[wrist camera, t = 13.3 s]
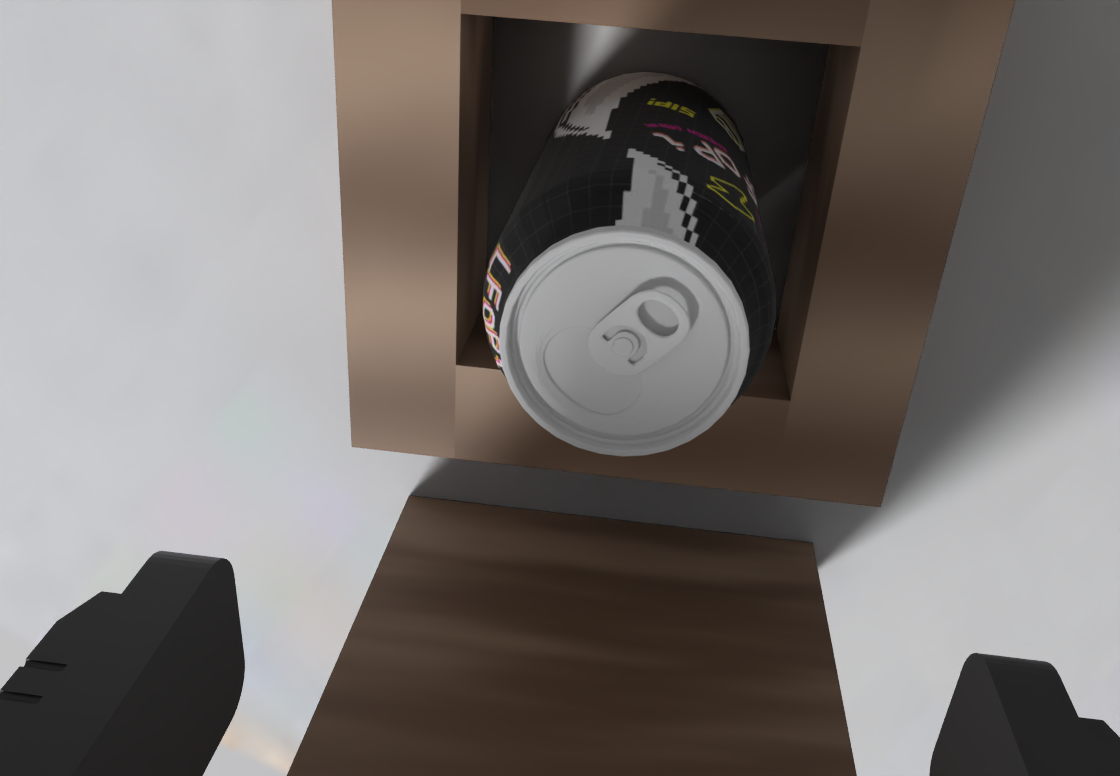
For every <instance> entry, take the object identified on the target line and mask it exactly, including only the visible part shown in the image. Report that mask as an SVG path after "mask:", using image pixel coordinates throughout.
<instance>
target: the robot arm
mask: <svg viewBox="0 0 1120 776" xmlns="http://www.w3.org/2000/svg"><path fill="white" fill-rule="evenodd" d="M244 672H245V660H244V651H243V642H242V634H241V626H240V618H239V610H238V602H237V594H236V586H235V578H234V572H233V568H232V565H231V563H230V562H229V561H228V560H227V559H224V558H216V557H208V556H200V555H191V554H183V553H175V552H167V551H159V552H156V553H154V554H153V555H152V556H151V557H150V558H149V559H148V560H147V561H146V563H145V564H144V565H143V567H142V568H141V569H140V570H139V572H138V573H137V574H136V576H135V577H134V578H133V580H132V581H131V582H130V584H129V585H128V586H127V587H126V589H125V590H124V591H123V593H122V594H118V593H110V592H100V593H99V594H97V595H96V596H94V597H93V598H91V599H90V600H88V601H87V602H85V603H84V604H82V605H81V606H79V607H78V608H76V609H75V610H73V611H72V612H70V613H69V614H67V615H66V616H64V617H63V618H61V619H60V620H58V621H57V622H56V623H55V624H54V625H53V627H52V628H51V629H50V630H49V631H48V633H47V634H46V635H45V636H44V638H43V639H42V640H41V641H40V642H39V644H38V645H37V646H36V647H35V648H34V650H33V651H32V652H31V653H30V655H29V656H28V657H27V658H26V663H25V666H24V667H19V668H18V669H17V670H16V672H15V673H14V674H13V675H12V676H11V678H10V679H9V680H8V681H7V682H6V684H5V685H4V686H3V687H2V688H1V690H0V776H202V775H203V774H204V772H205V770H206V768H207V766H208V764H209V762H210V760H211V758H212V756H213V755H214V753H215V751H216V749H217V747H218V745H219V743H220V741H221V739H222V738H223V736H224V734H225V732H226V730H227V728H228V726H229V724H230V722H231V720H232V718H233V716H234V714H235V711H236V709H237V706H238V703H239V700H240V696H241V692H242V687H243V681H244ZM930 776H1120V737H1119V736H1118V735H1117V734H1116V733H1115V732H1114V731H1113V730H1112V729H1111V728H1110V727H1109V726H1108V725H1107V724H1106V723H1105V722H1104V721H1103V720H1096V719H1088V718H1080V717H1078V715H1077V713H1076V711H1075V708H1074V706H1073V704H1072V702H1071V700H1070V698H1069V695H1068V693H1067V691H1066V689H1065V687H1064V684H1063V682H1062V680H1061V678H1060V676H1059V674H1058V672H1057V670H1056V669H1055V668H1054V667H1053V666H1052V665H1051V664H1050V663H1048V662H1044V661H1036V660H1028V659H1020V658H1012V657H1004V656H996V655H987V654H979V653H973V654H971V655H970V656H969V657H968V658H967V660H966V661H965V663H964V665H963V668H962V671H961V673H960V676H959V679H958V682H957V685H956V688H955V691H954V694H953V696H952V699H951V702H950V705H949V708H948V711H947V714H946V716H945V719H944V722H943V725H942V728H941V731H940V734H939V737H938V739H937V742H936V745H935V748H934V751H933V755H932V760H931V766H930Z"/></svg>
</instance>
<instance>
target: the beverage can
mask: <svg viewBox="0 0 1120 776" xmlns="http://www.w3.org/2000/svg"><path fill="white" fill-rule="evenodd" d="M483 317H484V322H485V328H486V333H487V339H488V343H489V345H490V348H491V350H492V353H493V355H494V358H495V360H496V363H497V365H498V367H499V368H500V370H501V371H502V373H503V375H504V376H505V378H506V379H507V381H508V383H509V386H510V389H511V390H512V392H513V393H514V395H515V396H516V398H517V400H518V401H519V403H520V404H521V406H522V407H523V408H524V409H525V411H526V412H527V413H528V414H529V415H530V416H531V417H532V418H533V419H534V420H535V421H536V422H537V423H538V424H539V425H540V426H542V427H543V428H544V429H546V430H547V431H549V432H550V433H551V434H553V435H554V436H555V437H557V438H559V439H561V440H563V441H565V442H567V443H569V444H571V445H573V446H575V447H578V448H581V449H585V450H588V451H592V452H596V453H599V454H607V455H614V456H622V457H623V456H643V455H649V454H654V453H658V452H663V451H667V450H670V449H672V448H675V447H677V446H679V445H682V444H684V443H686V442H689V441H691V440H692V439H694V438H695V437H697V436H698V435H700V434H701V433H703V432H704V431H706V430H708V429H709V428H710V427H711V426H712V425H713V424H714V423H715V422H716V421H717V420H718V419H719V418H720V417H721V416H722V415H723V414H724V413H725V412H726V410H727V409H728V408H729V407H730V406H731V405H732V404H733V403H734V402H735V401H736V400H737V399H738V398H739V397H740V396H741V395H742V394H743V393H744V392H745V391H746V389H747V388H748V386H749V385H750V383H751V382H752V380H753V379H754V378H755V376H756V375H757V373H758V372H759V370H760V368H761V366H762V363H763V361H764V359H765V356H766V354H767V352H768V349H769V347H770V344H771V340H772V335H773V330H774V324H775V319H776V286H775V281H774V277H773V272H772V268H771V263H770V259H769V254H768V250H767V245H766V240H765V236H764V231H763V227H762V222H761V218H760V213H759V209H758V204H757V199H756V195H755V190H754V186H753V181H752V177H751V172H750V168H749V163H748V158H747V154H746V150H745V146H744V142H743V139H742V136H741V134H740V132H739V130H738V128H737V126H736V124H735V122H734V120H733V119H732V117H731V116H730V115H729V114H728V112H727V111H726V110H725V108H724V107H723V106H722V105H721V103H719V102H718V101H717V100H716V99H715V98H714V97H712V96H711V95H710V94H709V93H708V92H707V91H705V90H704V89H702V88H700V87H699V86H697V85H695V84H693V83H691V82H689V81H688V80H685V79H682V78H679V77H675V76H672V75H669V74H664V73H653V72H638V73H630V74H623V75H620V76H617V77H614V78H611V79H607V80H604V81H602V82H601V83H599V84H597V85H595V86H594V87H592V88H590V89H588V90H587V91H585V92H584V93H583V94H581V95H580V96H579V97H578V98H577V99H576V100H575V101H573V102H572V103H571V104H570V105H569V106H568V107H567V109H566V110H565V111H564V113H563V114H562V115H561V117H560V118H559V119H558V120H557V122H556V124H555V126H554V128H553V130H552V132H551V134H550V136H549V138H548V140H547V142H546V144H545V146H544V149H543V151H542V153H541V155H540V157H539V159H538V161H537V163H536V165H535V167H534V169H533V171H532V173H531V175H530V177H529V179H528V181H527V183H526V185H525V187H524V189H523V191H522V193H521V195H520V197H519V199H518V202H517V204H516V206H515V208H514V210H513V212H512V214H511V216H510V218H509V220H508V222H507V224H506V226H505V228H504V230H503V232H502V234H501V236H500V238H499V240H498V242H497V244H496V246H495V248H494V250H493V252H492V254H491V257H490V260H489V264H488V269H487V273H486V277H485V281H484V285H483Z"/></svg>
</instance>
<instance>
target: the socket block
mask: <svg viewBox="0 0 1120 776" xmlns="http://www.w3.org/2000/svg"><path fill="white" fill-rule="evenodd" d="M1014 2H1015V0H332V16H333V38H334V60H335V83H336V105H337V127H338V150H339V172H340V194H341V217H342V239H343V261H344V284H345V306H346V328H347V350H348V373H349V395H350V417H351V440H352V447H358V448H367V449H375V450H384V451H393V452H402V453H410V454H419V455H428V456H437V457H445V458H454V459H463V460H472V461H480V462H489V463H498V464H507V465H515V466H524V467H533V468H542V469H551V470H559V471H568V472H577V473H586V474H594V475H603V476H612V477H621V478H629V479H638V480H647V481H656V482H664V483H673V484H682V485H691V486H699V487H708V488H717V489H726V490H734V491H743V492H752V493H761V494H770V495H778V496H787V497H796V498H805V499H813V500H822V501H831V502H840V503H848V504H857V505H866V506H875V507H881V504H882V500H883V497H884V493H885V489H886V485H887V482H888V478H889V474H890V470H891V466H892V463H893V459H894V455H895V451H896V448H897V444H898V440H899V436H900V432H901V429H902V425H903V421H904V417H905V414H906V410H907V406H908V402H909V399H910V395H911V391H912V387H913V383H914V380H915V376H916V372H917V368H918V365H919V361H920V357H921V353H922V350H923V346H924V342H925V338H926V334H927V331H928V327H929V323H930V319H931V316H932V312H933V308H934V304H935V300H936V297H937V293H938V289H939V285H940V282H941V278H942V274H943V270H944V267H945V263H946V259H947V255H948V251H949V248H950V244H951V240H952V236H953V233H954V229H955V225H956V221H957V217H958V214H959V210H960V206H961V202H962V199H963V195H964V191H965V187H966V184H967V180H968V176H969V172H970V168H971V165H972V161H973V157H974V153H975V150H976V146H977V142H978V138H979V134H980V131H981V127H982V123H983V119H984V116H985V112H986V108H987V104H988V101H989V97H990V93H991V89H992V85H993V82H994V78H995V74H996V70H997V67H998V63H999V59H1000V55H1001V52H1002V48H1003V44H1004V40H1005V36H1006V33H1007V29H1008V25H1009V21H1010V18H1011V14H1012V10H1013V6H1014ZM493 16H495V17H507V18H519V19H531V20H543V21H556V22H568V23H580V24H592V25H604V26H616V27H628V28H640V29H652V30H664V31H676V32H688V33H700V34H712V35H725V36H737V37H749V38H761V39H773V40H785V41H797V42H809V43H821V44H829V48H828V54H827V59H826V65H825V70H824V76H823V81H822V86H821V92H820V97H819V103H818V108H817V114H816V119H815V124H814V130H813V135H812V141H811V146H810V151H809V157H808V162H807V168H806V173H805V179H804V184H803V189H802V195H801V200H800V206H799V211H798V216H797V222H796V227H795V233H794V238H793V244H792V249H791V254H790V260H789V265H788V271H787V276H786V282H785V287H784V292H783V298H782V303H781V309H780V314H779V319H778V325H777V330H773V335H772V340H771V344H770V347H769V349H768V352H767V354H766V356H765V359H764V361H763V363H762V366H761V368H760V370H759V372H758V373H757V375H756V376H755V378H754V379H753V380H752V382H751V383H750V385H749V386H748V388H747V389H746V391H745V392H744V393H743V394H742V395H741V396H740V397H739V398H738V399H737V400H736V401H735V402H734V403H733V404H732V405H731V406H730V407H729V408H728V409H727V410H726V412H725V413H724V414H723V415H722V416H721V417H720V418H719V419H718V420H717V421H716V422H715V423H714V424H713V425H712V426H711V427H710V428H709V429H708V430H706V431H704V432H703V433H701V434H700V435H698V436H697V437H695V438H694V439H692V440H691V441H689V442H686V443H684V444H682V445H679V446H677V447H675V448H672V449H670V450H667V451H663V452H658V453H654V454H649V455H643V456H623V457H622V456H614V455H607V454H599V453H596V452H592V451H588V450H585V449H581V448H578V447H575V446H573V445H571V444H569V443H567V442H565V441H563V440H561V439H559V438H557V437H555V436H554V435H553V434H551V433H550V432H549V431H547V430H546V429H544V428H543V427H542V426H540V425H539V424H538V423H537V422H536V421H535V420H534V419H533V418H532V417H531V416H530V415H529V414H528V413H527V412H526V411H525V409H524V408H523V407H522V406H521V404H520V403H519V401H518V400H517V398H516V396H515V395H514V393H513V392H512V390H511V389H510V386H509V383H508V381H507V379H506V378H505V376H504V375H503V373H502V371H501V370H500V368H499V367H498V365H497V363H496V360H495V358H494V355H493V353H492V350H491V348H490V345H489V343H488V339H487V333H486V328H485V322H484V317H483V285H484V281H485V277H486V258H487V223H488V188H489V153H490V118H491V83H492V49H493Z"/></svg>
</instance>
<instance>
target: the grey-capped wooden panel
mask: <svg viewBox="0 0 1120 776" xmlns="http://www.w3.org/2000/svg"><path fill="white" fill-rule="evenodd" d="M287 776H857V775H856V770H855V764H854V759H853V754H852V748H851V743H850V738H849V733H848V727H847V722H846V717H845V711H844V706H843V701H842V696H841V690H840V685H839V680H838V674H837V669H836V664H835V659H834V653H833V648H832V643H831V637H830V632H829V627H828V622H827V616H826V611H825V606H824V600H823V595H822V590H821V585H820V579H819V574H818V569H817V564H816V558H815V553H814V548H813V543H809V542H800V541H792V540H783V539H775V538H766V537H757V536H749V535H740V534H732V533H723V532H715V531H706V530H698V529H689V528H681V527H672V526H664V525H655V524H647V523H638V522H629V521H621V520H612V519H604V518H595V517H587V516H578V515H570V514H561V513H553V512H544V511H536V510H527V509H518V508H510V507H501V506H493V505H484V504H476V503H467V502H459V501H450V500H442V499H433V498H425V497H416V496H409V497H408V499H407V501H406V504H405V506H404V508H403V511H402V513H401V515H400V517H399V520H398V522H397V524H396V527H395V529H394V531H393V534H392V536H391V538H390V540H389V543H388V545H387V547H386V550H385V552H384V554H383V556H382V559H381V561H380V563H379V566H378V568H377V570H376V572H375V575H374V577H373V579H372V582H371V584H370V586H369V589H368V591H367V593H366V595H365V598H364V600H363V602H362V605H361V607H360V609H359V611H358V614H357V616H356V618H355V621H354V623H353V625H352V628H351V630H350V632H349V634H348V637H347V639H346V641H345V644H344V646H343V648H342V650H341V653H340V655H339V657H338V660H337V662H336V664H335V666H334V669H333V671H332V673H331V676H330V678H329V680H328V683H327V685H326V687H325V689H324V692H323V694H322V696H321V699H320V701H319V703H318V705H317V708H316V710H315V712H314V715H313V717H312V719H311V721H310V724H309V726H308V728H307V731H306V733H305V735H304V738H303V740H302V742H301V744H300V747H299V749H298V751H297V754H296V756H295V758H294V760H293V763H292V765H291V767H290V770H289V772H288V774H287Z"/></svg>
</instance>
